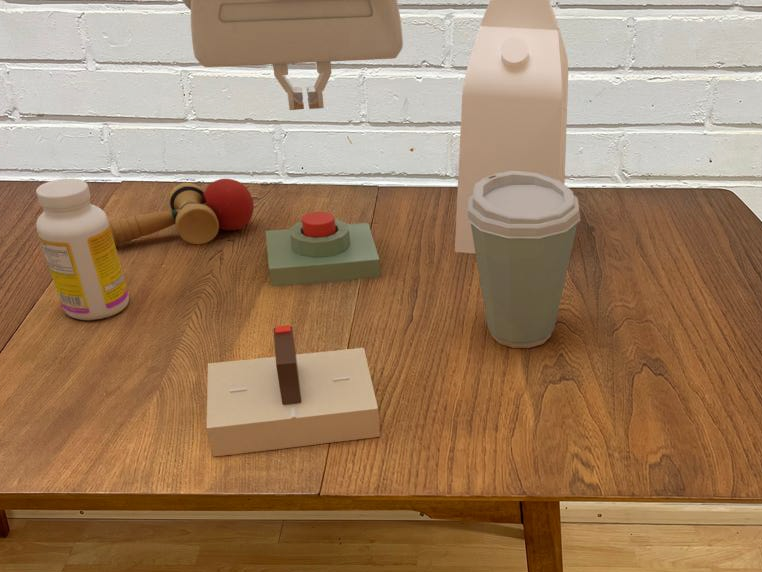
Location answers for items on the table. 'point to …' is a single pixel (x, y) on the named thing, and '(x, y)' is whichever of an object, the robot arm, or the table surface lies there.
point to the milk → (512, 101)
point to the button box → (321, 255)
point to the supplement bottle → (80, 251)
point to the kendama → (193, 213)
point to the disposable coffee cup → (522, 252)
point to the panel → (290, 421)
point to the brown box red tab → (287, 364)
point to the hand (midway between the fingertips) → (306, 107)
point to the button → (318, 224)
